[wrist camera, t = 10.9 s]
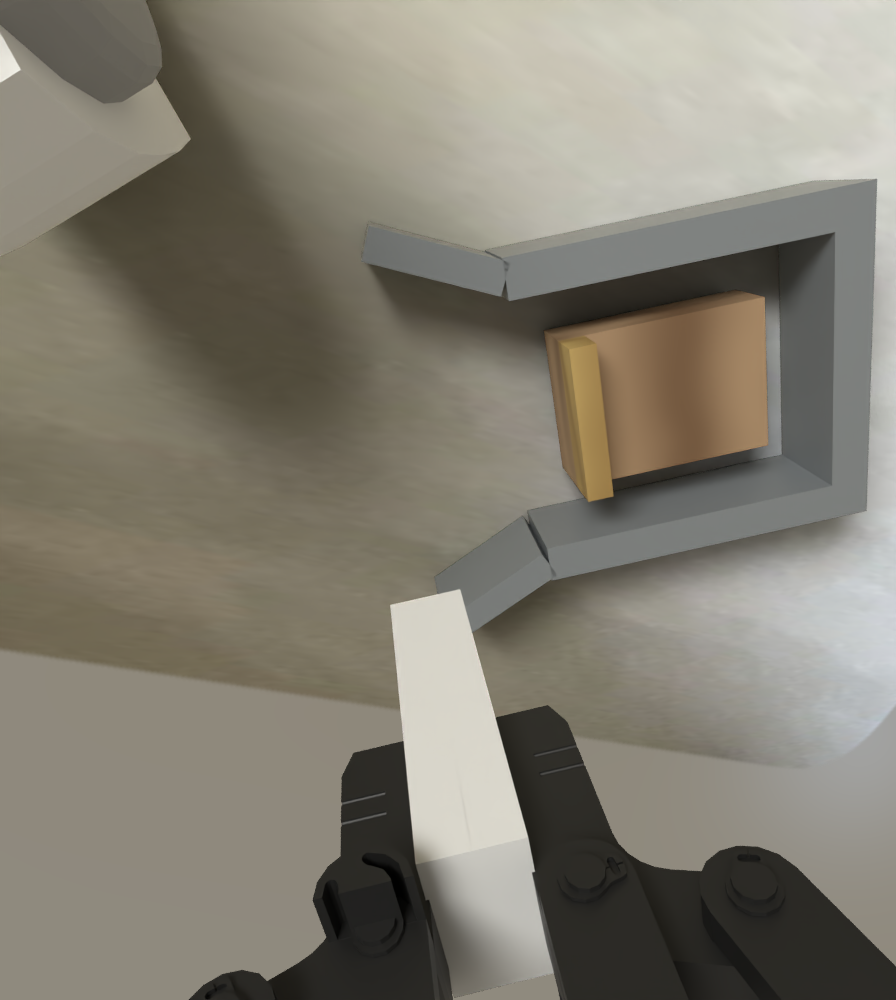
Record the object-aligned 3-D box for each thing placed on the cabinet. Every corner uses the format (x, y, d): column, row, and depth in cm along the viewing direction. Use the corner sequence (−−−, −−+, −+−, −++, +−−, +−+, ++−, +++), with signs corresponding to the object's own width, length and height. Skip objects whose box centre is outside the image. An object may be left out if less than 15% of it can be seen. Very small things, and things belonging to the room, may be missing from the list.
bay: (438, 597, 35) (448, 643, 32) (355, 224, 29) (354, 228, 25) (813, 514, 36) (865, 550, 32) (814, 128, 29) (878, 119, 26)
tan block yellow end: (557, 459, 34) (588, 502, 29) (538, 326, 31) (569, 349, 27) (730, 421, 34) (788, 457, 29) (724, 286, 31) (786, 302, 27)
